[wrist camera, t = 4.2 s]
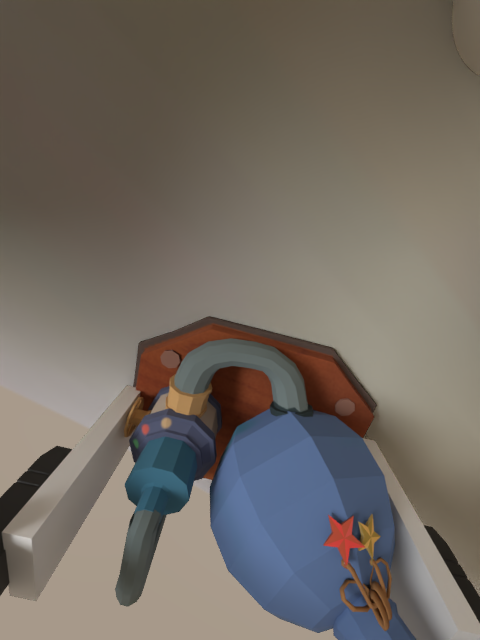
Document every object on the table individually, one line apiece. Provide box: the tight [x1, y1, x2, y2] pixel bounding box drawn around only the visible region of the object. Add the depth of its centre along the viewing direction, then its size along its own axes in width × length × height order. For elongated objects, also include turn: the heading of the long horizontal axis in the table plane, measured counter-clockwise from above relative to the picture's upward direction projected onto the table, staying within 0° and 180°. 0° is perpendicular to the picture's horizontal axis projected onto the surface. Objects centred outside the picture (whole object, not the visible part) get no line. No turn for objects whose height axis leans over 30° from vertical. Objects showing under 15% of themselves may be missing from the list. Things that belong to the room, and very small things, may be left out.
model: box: [115, 317, 416, 640], centre depth 9 cm, size 12×9×9 cm
